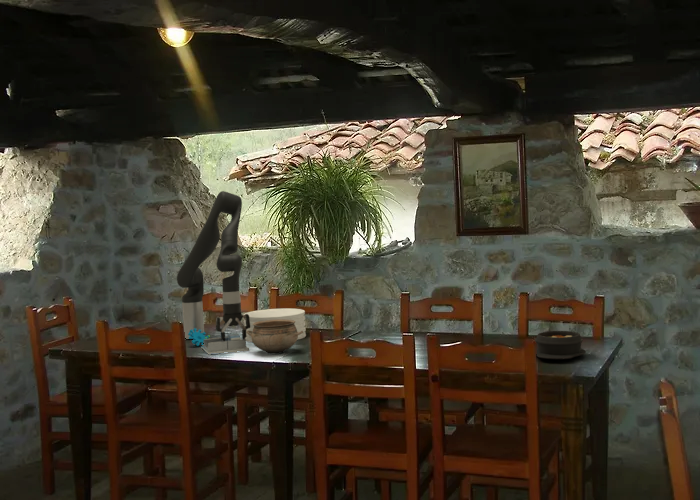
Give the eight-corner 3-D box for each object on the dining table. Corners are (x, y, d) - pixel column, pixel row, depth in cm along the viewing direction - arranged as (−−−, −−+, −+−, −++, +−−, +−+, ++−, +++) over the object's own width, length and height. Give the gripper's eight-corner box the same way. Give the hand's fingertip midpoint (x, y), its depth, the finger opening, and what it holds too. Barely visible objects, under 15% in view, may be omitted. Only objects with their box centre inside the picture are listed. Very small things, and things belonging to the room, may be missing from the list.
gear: (194, 345, 332) (186, 327, 337) (188, 353, 335) (180, 336, 340) (215, 344, 340) (207, 327, 345) (209, 353, 343) (201, 335, 348)
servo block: (226, 344, 332) (226, 332, 332) (235, 343, 334) (235, 331, 333) (231, 348, 322) (231, 336, 322) (241, 347, 323) (240, 335, 323)
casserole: (580, 365, 264) (579, 341, 264) (526, 362, 273) (525, 339, 272) (591, 351, 287) (590, 328, 287) (540, 349, 295) (539, 327, 295)
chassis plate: (201, 349, 330) (200, 338, 330) (240, 345, 336) (239, 334, 336) (208, 355, 315) (208, 344, 315) (249, 350, 321) (248, 339, 321)
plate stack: (267, 345, 332) (266, 319, 332) (232, 339, 354) (231, 314, 353) (318, 336, 351) (317, 311, 350) (282, 330, 372) (280, 306, 371)
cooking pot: (312, 348, 320) (311, 319, 319) (294, 357, 302) (293, 326, 301) (258, 347, 328) (256, 319, 327) (237, 356, 310) (235, 326, 309)
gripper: (246, 299, 332) (248, 336, 333) (213, 302, 327) (215, 340, 328) (250, 301, 325) (252, 339, 326) (216, 304, 320) (219, 343, 321)
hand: (233, 339), depth 327 cm, fingers open, 8 cm apart
